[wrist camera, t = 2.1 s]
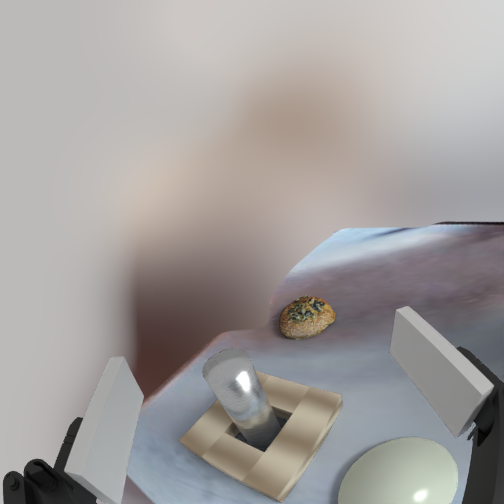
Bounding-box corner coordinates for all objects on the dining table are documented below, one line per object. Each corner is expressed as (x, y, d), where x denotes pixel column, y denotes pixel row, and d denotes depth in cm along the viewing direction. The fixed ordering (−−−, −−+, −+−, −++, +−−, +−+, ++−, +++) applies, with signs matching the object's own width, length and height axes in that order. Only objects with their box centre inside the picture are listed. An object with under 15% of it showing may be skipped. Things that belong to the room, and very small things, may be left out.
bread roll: (293, 301, 59) (291, 282, 56) (342, 311, 53) (342, 292, 50) (268, 337, 51) (264, 318, 49) (323, 352, 45) (322, 333, 43)
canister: (259, 414, 35) (223, 344, 29) (288, 426, 32) (259, 355, 26) (239, 439, 31) (193, 374, 26) (268, 453, 28) (229, 391, 22)
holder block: (251, 378, 42) (245, 367, 41) (342, 405, 32) (341, 394, 31) (188, 449, 31) (178, 440, 30) (281, 502, 21) (275, 498, 20)
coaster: (368, 431, 27) (368, 428, 26) (467, 444, 18) (469, 441, 18) (314, 524, 17) (314, 523, 17) (429, 547, 8) (431, 547, 8)
